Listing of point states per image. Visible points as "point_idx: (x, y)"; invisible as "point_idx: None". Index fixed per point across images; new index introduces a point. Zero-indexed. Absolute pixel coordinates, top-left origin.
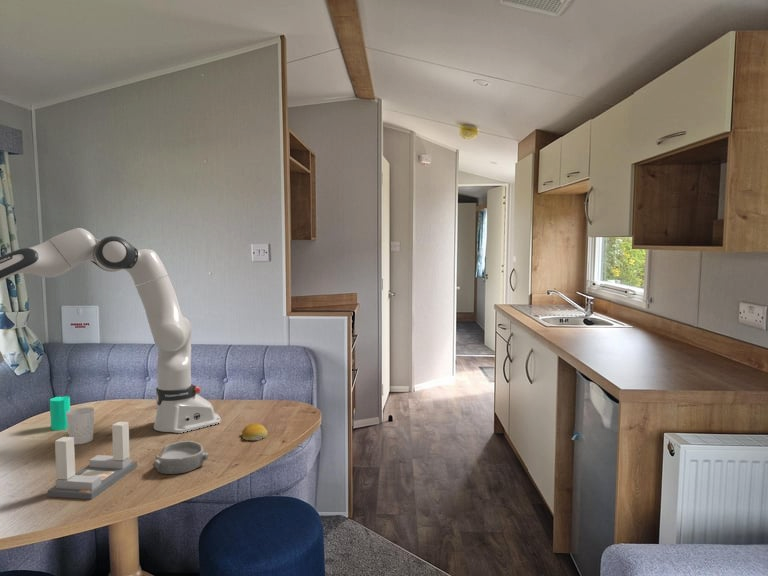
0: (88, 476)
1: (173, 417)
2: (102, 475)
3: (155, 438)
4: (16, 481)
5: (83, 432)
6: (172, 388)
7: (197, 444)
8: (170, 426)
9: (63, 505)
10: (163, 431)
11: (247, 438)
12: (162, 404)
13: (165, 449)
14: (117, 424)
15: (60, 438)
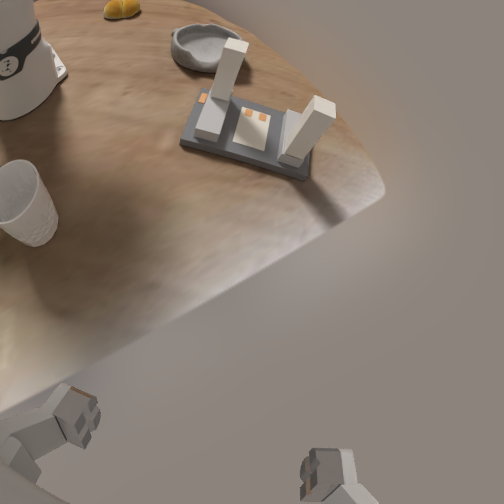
0: (288, 122)
1: (51, 63)
2: (256, 118)
3: (73, 98)
4: (247, 258)
5: (50, 197)
6: (33, 23)
7: (188, 27)
8: (52, 79)
9: (325, 154)
10: (48, 95)
11: (136, 12)
12: (27, 63)
13: (190, 53)
14: (242, 47)
15: (322, 112)
